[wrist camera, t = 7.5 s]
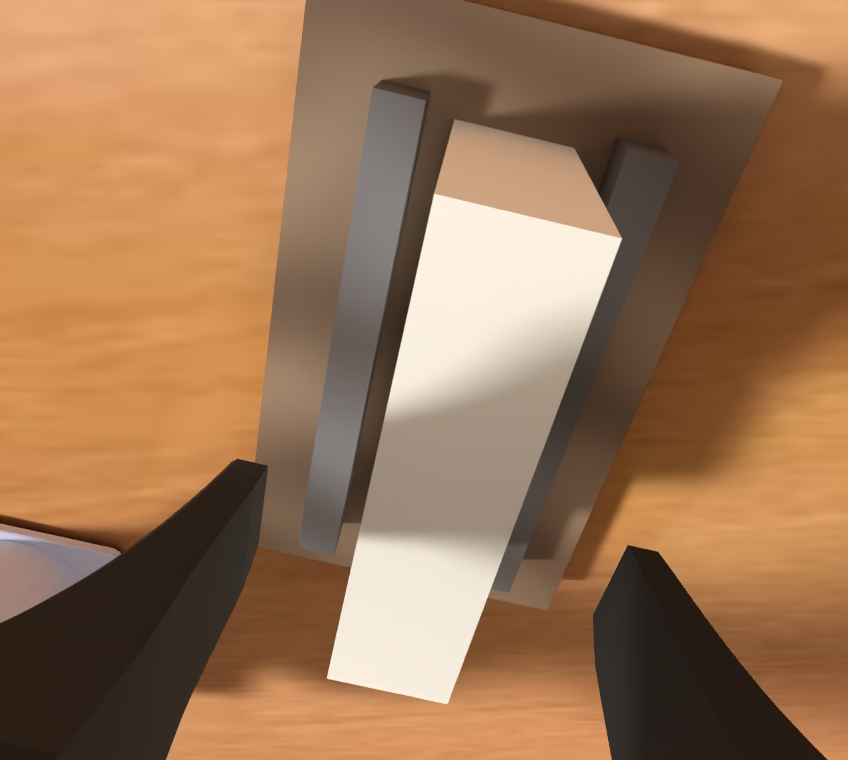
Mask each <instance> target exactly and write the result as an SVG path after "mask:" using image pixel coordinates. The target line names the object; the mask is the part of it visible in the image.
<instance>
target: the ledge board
mask: <svg viewBox="0 0 848 760" xmlns="http://www.w3.org/2000/svg"><path fill="white" fill-rule="evenodd" d="M782 82H783V80H780V79H777V78H774V77H771V76H768V75H764V74H761V73H757V72H753V71H749V70H745V69H741V68H737V67H733V66H729V65H725V64H721V63H717V62H713V61H709V60H705V59H701V58H697V57H693V56H689V55H685V54H681V53H677V52H672V51H668V50H664V49H660V48H656V47H652V46H648V45H644V44H640V43H636V42H632V41H628V40H624V39H620V38H616V37H612V36H608V35H604V34H600V33H596V32H592V31H588V30H584V29H580V28H576V27H572V26H568V25H564V24H560V23H555V22H551V21H547V20H543V19H539V18H535V17H531V16H527V15H523V14H519V13H515V12H511V11H507V10H503V9H499V8H495V7H491V6H487V5H483V4H479V3H475V2H471V1H467V0H306V5H305V14H304V23H303V32H302V42H301V51H300V60H299V69H298V78H297V87H296V96H295V105H294V114H293V123H292V133H291V142H290V151H289V160H288V169H287V178H286V187H285V196H284V205H283V215H282V224H281V233H280V242H279V251H278V260H277V269H276V278H275V287H274V297H273V306H272V315H271V324H270V333H269V342H268V351H267V360H266V369H265V378H264V388H263V397H262V406H261V415H260V424H259V433H258V442H257V451H256V460H255V463H258V464H263V465H267V466H268V472H267V481H266V489H265V497H264V505H263V513H262V521H261V529H260V537H259V544H258V547H257V548H261V549H266V550H270V551H275V552H280V553H284V554H289V555H293V556H298V557H302V558H307V559H312V560H316V561H321V562H325V563H330V564H335V565H339V566H344V567H348V568H351V567H352V562H353V558H354V553H355V549H356V544H357V540H358V535H359V531H360V526H361V522H362V517H363V513H364V508H365V503H366V499H367V494H368V490H369V485H370V481H371V476H372V472H373V467H374V463H375V458H376V454H377V449H378V445H379V440H380V436H381V431H382V427H383V422H384V418H385V413H386V409H387V404H388V400H389V395H390V391H391V386H392V382H393V377H394V373H395V368H396V364H397V359H398V355H399V350H400V345H401V341H402V336H403V332H404V327H405V323H406V318H407V314H408V309H409V305H410V300H411V296H412V291H413V287H414V282H415V278H416V273H417V269H418V264H419V260H420V255H421V251H422V246H423V242H424V237H425V233H426V228H427V224H428V219H429V215H430V210H431V206H432V201H433V197H434V192H435V189H436V185H437V181H438V178H439V174H440V170H441V167H442V163H443V160H444V156H445V152H446V149H447V145H448V141H449V138H450V134H451V130H452V127H453V123H454V119H456V120H461V121H465V122H469V123H473V124H477V125H481V126H485V127H490V128H494V129H498V130H502V131H506V132H510V133H514V134H518V135H523V136H527V137H531V138H535V139H539V140H543V141H547V142H552V143H556V144H560V145H564V146H568V147H572V148H575V150H576V152H577V154H578V156H579V158H580V160H581V162H582V164H583V165H584V167H585V169H586V171H587V173H588V175H589V177H590V179H591V181H592V183H593V184H594V186H595V188H596V190H597V192H598V194H599V196H600V198H601V200H602V201H603V203H604V205H605V207H606V209H607V211H608V213H609V215H610V217H611V218H612V220H613V222H614V224H615V226H616V228H617V230H618V232H619V234H620V235H621V237H622V240H621V243H620V245H619V248H618V251H617V253H616V256H615V259H614V261H613V264H612V267H611V269H610V272H609V275H608V277H607V280H606V283H605V285H604V288H603V291H602V293H601V296H600V299H599V301H598V304H597V307H596V309H595V312H594V315H593V317H592V320H591V323H590V325H589V328H588V331H587V333H586V336H585V339H584V341H583V344H582V347H581V349H580V352H579V355H578V357H577V360H576V363H575V365H574V368H573V371H572V373H571V376H570V379H569V381H568V384H567V387H566V389H565V392H564V395H563V397H562V400H561V403H560V405H559V408H558V411H557V413H556V416H555V419H554V421H553V424H552V427H551V430H550V432H549V435H548V438H547V440H546V443H545V446H544V448H543V451H542V454H541V456H540V459H539V462H538V464H537V467H536V470H535V472H534V475H533V478H532V480H531V483H530V486H529V488H528V491H527V494H526V496H525V499H524V502H523V504H522V507H521V510H520V512H519V515H518V518H517V520H516V523H515V526H514V528H513V531H512V534H511V536H510V539H509V542H508V544H507V547H506V550H505V552H504V555H503V558H502V560H501V563H500V566H499V568H498V571H497V574H496V576H495V579H494V582H493V584H492V587H491V590H490V592H489V595H488V598H490V599H495V600H499V601H504V602H508V603H513V604H518V605H522V606H527V607H531V608H536V609H540V610H545V611H547V610H548V608H549V605H550V603H551V601H552V599H553V596H554V594H555V592H556V590H557V587H558V585H559V583H560V581H561V578H562V576H563V574H564V572H565V569H566V567H567V565H568V563H569V560H570V558H571V556H572V554H573V551H574V549H575V547H576V545H577V542H578V540H579V538H580V536H581V533H582V531H583V529H584V527H585V525H586V522H587V520H588V518H589V516H590V513H591V511H592V509H593V507H594V504H595V502H596V500H597V498H598V495H599V493H600V491H601V489H602V486H603V484H604V482H605V480H606V477H607V475H608V473H609V471H610V468H611V466H612V464H613V462H614V459H615V457H616V455H617V453H618V450H619V448H620V446H621V444H622V441H623V439H624V437H625V435H626V432H627V430H628V428H629V426H630V423H631V421H632V419H633V417H634V414H635V412H636V410H637V408H638V405H639V403H640V401H641V399H642V396H643V394H644V392H645V390H646V388H647V385H648V383H649V381H650V379H651V376H652V374H653V372H654V370H655V367H656V365H657V363H658V361H659V358H660V356H661V354H662V352H663V349H664V347H665V345H666V343H667V340H668V338H669V336H670V334H671V331H672V329H673V327H674V325H675V322H676V320H677V318H678V316H679V313H680V311H681V309H682V307H683V304H684V302H685V300H686V298H687V295H688V293H689V291H690V289H691V286H692V284H693V282H694V280H695V277H696V275H697V273H698V271H699V268H700V266H701V264H702V262H703V259H704V257H705V255H706V253H707V250H708V248H709V246H710V244H711V242H712V239H713V237H714V235H715V233H716V230H717V228H718V226H719V224H720V221H721V219H722V217H723V215H724V212H725V210H726V208H727V206H728V203H729V201H730V199H731V197H732V194H733V192H734V190H735V188H736V185H737V183H738V181H739V179H740V176H741V174H742V172H743V170H744V167H745V165H746V163H747V161H748V158H749V156H750V154H751V152H752V149H753V147H754V145H755V143H756V140H757V138H758V136H759V134H760V131H761V129H762V127H763V125H764V122H765V120H766V118H767V116H768V113H769V111H770V109H771V107H772V104H773V102H774V100H775V98H776V96H777V93H778V91H779V89H780V87H781V84H782Z"/></svg>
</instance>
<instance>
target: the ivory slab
mask: <svg viewBox="0 0 848 760" xmlns="http://www.w3.org/2000/svg"><path fill="white" fill-rule="evenodd" d="M621 240H622V237H621V235H620V234H619V232H618V230H617V228H616V226H615V224H614V222H613V220H612V218H611V217H610V215H609V213H608V211H607V209H606V207H605V205H604V203H603V201H602V200H601V198H600V196H599V194H598V192H597V190H596V188H595V186H594V184H593V183H592V181H591V179H590V177H589V175H588V173H587V171H586V169H585V167H584V165H583V164H582V162H581V160H580V158H579V156H578V154H577V152H576V150H575V148H572V147H568V146H564V145H560V144H556V143H552V142H547V141H543V140H539V139H535V138H531V137H527V136H523V135H518V134H514V133H510V132H506V131H502V130H498V129H494V128H490V127H485V126H481V125H477V124H473V123H469V122H465V121H461V120H456V119H454V123H453V127H452V130H451V134H450V138H449V141H448V145H447V149H446V152H445V156H444V160H443V163H442V167H441V170H440V174H439V178H438V181H437V185H436V189H435V192H434V197H433V201H432V206H431V210H430V215H429V219H428V224H427V228H426V233H425V237H424V242H423V246H422V251H421V255H420V260H419V264H418V269H417V273H416V278H415V282H414V287H413V291H412V296H411V300H410V305H409V309H408V314H407V318H406V323H405V327H404V332H403V336H402V341H401V345H400V350H399V355H398V359H397V364H396V368H395V373H394V377H393V382H392V386H391V391H390V395H389V400H388V404H387V409H386V413H385V418H384V422H383V427H382V431H381V436H380V440H379V445H378V449H377V454H376V458H375V463H374V467H373V472H372V476H371V481H370V485H369V490H368V494H367V499H366V503H365V508H364V513H363V517H362V522H361V526H360V531H359V535H358V540H357V544H356V549H355V553H354V558H353V562H352V567H351V571H350V576H349V580H348V585H347V589H346V594H345V598H344V603H343V607H342V612H341V616H340V621H339V625H338V630H337V634H336V639H335V643H334V648H333V652H332V657H331V661H330V666H329V670H328V675H327V679H331V680H336V681H341V682H345V683H350V684H355V685H359V686H364V687H369V688H373V689H378V690H383V691H388V692H392V693H397V694H402V695H406V696H411V697H416V698H420V699H425V700H430V701H435V702H439V703H444V704H448V702H449V699H450V696H451V694H452V691H453V688H454V686H455V683H456V680H457V678H458V675H459V672H460V670H461V667H462V664H463V662H464V659H465V656H466V654H467V651H468V648H469V646H470V643H471V640H472V638H473V635H474V632H475V630H476V627H477V624H478V622H479V619H480V616H481V614H482V611H483V608H484V606H485V603H486V600H487V598H488V595H489V592H490V590H491V587H492V584H493V582H494V579H495V576H496V574H497V571H498V568H499V566H500V563H501V560H502V558H503V555H504V552H505V550H506V547H507V544H508V542H509V539H510V536H511V534H512V531H513V528H514V526H515V523H516V520H517V518H518V515H519V512H520V510H521V507H522V504H523V502H524V499H525V496H526V494H527V491H528V488H529V486H530V483H531V480H532V478H533V475H534V472H535V470H536V467H537V464H538V462H539V459H540V456H541V454H542V451H543V448H544V446H545V443H546V440H547V438H548V435H549V432H550V430H551V427H552V424H553V421H554V419H555V416H556V413H557V411H558V408H559V405H560V403H561V400H562V397H563V395H564V392H565V389H566V387H567V384H568V381H569V379H570V376H571V373H572V371H573V368H574V365H575V363H576V360H577V357H578V355H579V352H580V349H581V347H582V344H583V341H584V339H585V336H586V333H587V331H588V328H589V325H590V323H591V320H592V317H593V315H594V312H595V309H596V307H597V304H598V301H599V299H600V296H601V293H602V291H603V288H604V285H605V283H606V280H607V277H608V275H609V272H610V269H611V267H612V264H613V261H614V259H615V256H616V253H617V251H618V248H619V245H620V243H621Z"/></svg>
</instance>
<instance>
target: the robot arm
mask: <svg viewBox="0 0 848 760" xmlns="http://www.w3.org/2000/svg"><path fill="white" fill-rule="evenodd" d="M267 472H268V466H267V465H263V464H258V463H254V462H249V461H245V460H240V459H236V460H235V461H233V462H231V463H230V464H229V465H228V466H227V467H226V468H225V469H224V470H223V471H222V472H221V473H220V474H219V475H218V476H217V477H216V478H215V479H213V480H212V481H211V482H210V483H209V484H208V485H207V486H206V487H205V488H204V489H203V490H201V491H200V492H199V493H198V494H197V495H196V496H195V497H193V498H192V499H191V500H190V501H189V502H188V503H186V504H185V505H184V506H183V507H182V508H180V509H179V510H178V511H177V512H176V513H174V514H173V515H172V516H171V517H170V518H168V519H167V520H166V521H165V522H163V523H162V524H161V525H160V526H158V527H157V528H156V529H154V530H153V531H152V532H150V533H149V534H148V535H146V536H145V537H144V538H142V539H141V540H139V541H138V542H137V543H135V544H134V545H133V546H131V547H130V548H129V549H127V550H126V551H124V552H123V553H122V554H121V553H120V552H119V551H118V550H116V549H114V548H111V547H106V546H101V545H97V544H92V543H88V542H83V541H78V540H74V539H69V538H65V537H60V536H55V535H51V534H46V533H41V532H37V531H32V530H28V529H23V528H18V527H14V526H9V525H5V524H0V760H166V758H167V755H168V752H169V750H170V747H171V744H172V742H173V739H174V737H175V734H176V731H177V729H178V726H179V723H180V721H181V718H182V715H183V713H184V711H185V709H186V706H187V704H188V702H189V699H190V697H191V695H192V693H193V690H194V688H195V686H196V684H197V682H198V680H199V678H200V676H201V674H202V672H203V670H204V668H205V666H206V664H207V662H208V660H209V658H210V656H211V654H212V651H213V649H214V647H215V645H216V643H217V641H218V639H219V637H220V635H221V633H222V631H223V629H224V627H225V625H226V623H227V621H228V619H229V617H230V614H231V612H232V610H233V608H234V606H235V604H236V602H237V600H238V598H239V596H240V594H241V592H242V589H243V587H244V584H245V581H246V578H247V575H248V573H249V570H250V567H251V564H252V561H253V558H254V555H255V553H256V550H257V547H258V544H259V537H260V529H261V521H262V513H263V505H264V497H265V489H266V481H267ZM593 627H594V651H595V666H596V672H597V678H598V684H599V690H600V696H601V702H602V707H603V713H604V718H605V724H606V730H607V735H608V741H609V746H610V752H611V757H612V760H827V759H826V758H825V757H824V756H823V755H822V754H821V753H820V752H819V751H818V750H817V749H816V748H815V747H814V746H813V745H812V744H811V743H810V742H809V741H808V740H807V739H806V737H805V736H804V735H803V734H802V733H801V732H800V731H799V730H798V729H797V728H796V727H795V726H794V725H793V724H792V723H791V721H790V720H789V719H788V718H787V717H786V716H785V715H784V714H783V713H782V712H781V711H780V710H779V709H778V707H777V706H776V705H775V704H774V703H773V702H772V701H771V699H770V698H769V697H768V696H767V695H766V694H765V693H764V691H763V690H762V689H761V688H760V687H759V685H758V684H757V683H756V682H755V681H754V679H753V678H752V677H751V676H750V674H749V673H748V672H747V671H746V670H745V668H744V667H743V666H742V665H741V664H740V662H739V661H738V660H737V658H736V657H735V656H734V655H733V653H732V652H731V651H730V650H729V648H728V647H727V646H726V644H725V643H724V642H723V640H722V639H721V638H720V636H719V635H718V634H717V632H716V631H715V630H714V628H713V627H712V626H711V624H710V623H709V622H708V620H707V619H706V618H705V616H704V615H703V613H702V612H701V611H700V609H699V608H698V607H697V605H696V604H695V602H694V601H693V600H692V598H691V597H690V595H689V594H688V593H687V591H686V590H685V588H684V587H683V586H682V584H681V583H680V581H679V580H678V579H677V577H676V576H675V574H674V573H673V572H672V570H671V569H670V567H669V566H668V565H667V563H666V562H665V561H664V559H663V558H662V557H661V555H660V554H659V553H658V552H656V551H652V550H647V549H643V548H638V547H634V546H629V545H628V546H627V548H626V550H625V552H624V554H623V556H622V558H621V560H620V562H619V564H618V566H617V568H616V570H615V572H614V574H613V576H612V578H611V580H610V582H609V584H608V586H607V588H606V590H605V592H604V594H603V596H602V598H601V600H600V602H599V604H598V606H597V608H596V611H595V613H594V615H593Z"/></svg>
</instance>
